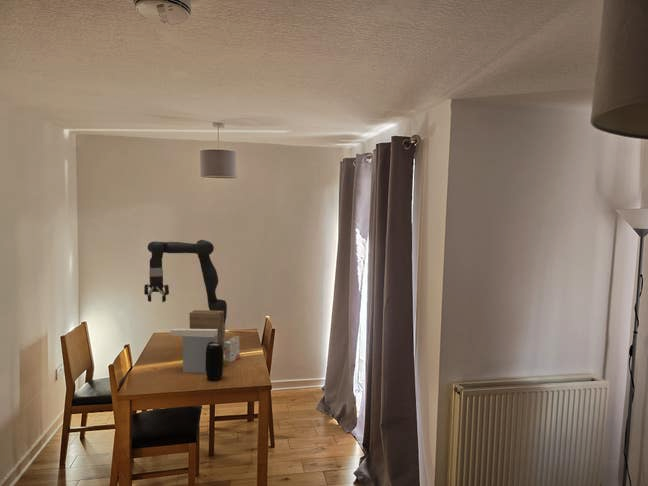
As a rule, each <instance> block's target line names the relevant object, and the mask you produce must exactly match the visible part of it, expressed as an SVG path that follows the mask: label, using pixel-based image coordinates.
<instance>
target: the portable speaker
mask: <svg viewBox="0 0 648 486" xmlns="http://www.w3.org/2000/svg"><path fill="white" fill-rule="evenodd" d="M223 371H224V363H223V350H222V343H221V342H209V343H208V344H207V348H206V373H205V374H206V378H207V380H208V381H210V380H213V381H214V382H216V381H220V380H221V379H222V377H223Z"/></svg>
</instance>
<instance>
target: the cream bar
mask: <svg viewBox="0 0 648 486" xmlns="http://www.w3.org/2000/svg"><path fill="white" fill-rule="evenodd" d="M217 335H218V329H190V328H172V329H170V336H176V337H177V336H178V337H179V336H182V337H183V336H217Z"/></svg>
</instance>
